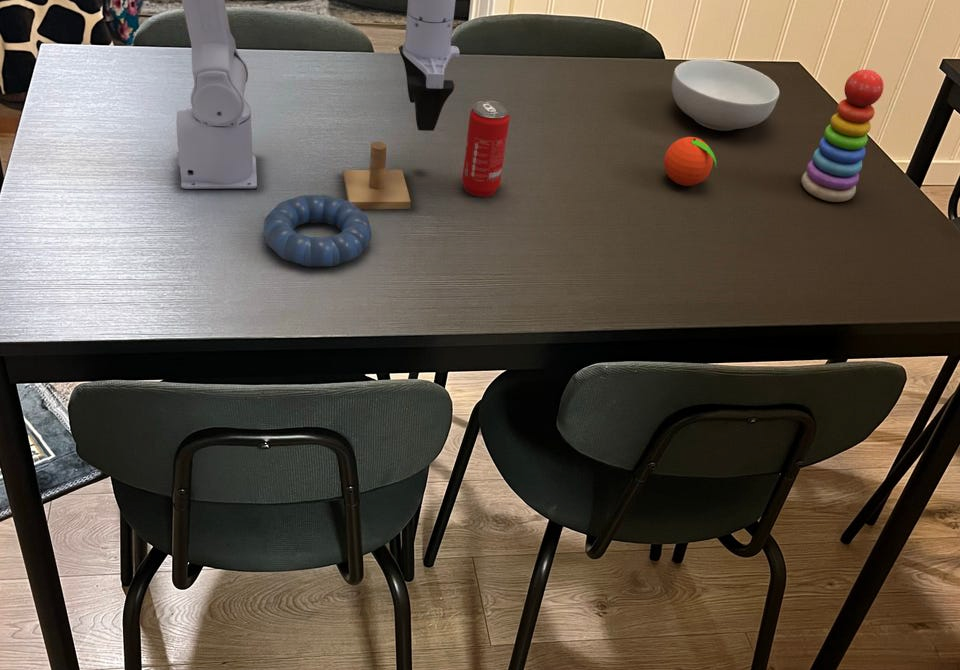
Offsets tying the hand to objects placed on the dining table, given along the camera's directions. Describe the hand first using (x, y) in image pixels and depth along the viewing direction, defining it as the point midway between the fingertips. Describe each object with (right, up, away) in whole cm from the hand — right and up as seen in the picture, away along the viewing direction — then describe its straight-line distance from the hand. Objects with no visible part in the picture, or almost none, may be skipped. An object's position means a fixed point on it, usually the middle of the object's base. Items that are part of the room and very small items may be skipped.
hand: (421, 115), depth 125 cm
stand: (-6, -10, +3) cm, 12 cm away
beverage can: (+8, -9, +7) cm, 13 cm away
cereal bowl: (+46, +7, +32) cm, 57 cm away
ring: (-12, -16, -9) cm, 22 cm away
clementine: (+38, -7, +14) cm, 41 cm away
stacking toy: (+59, -7, +18) cm, 63 cm away
